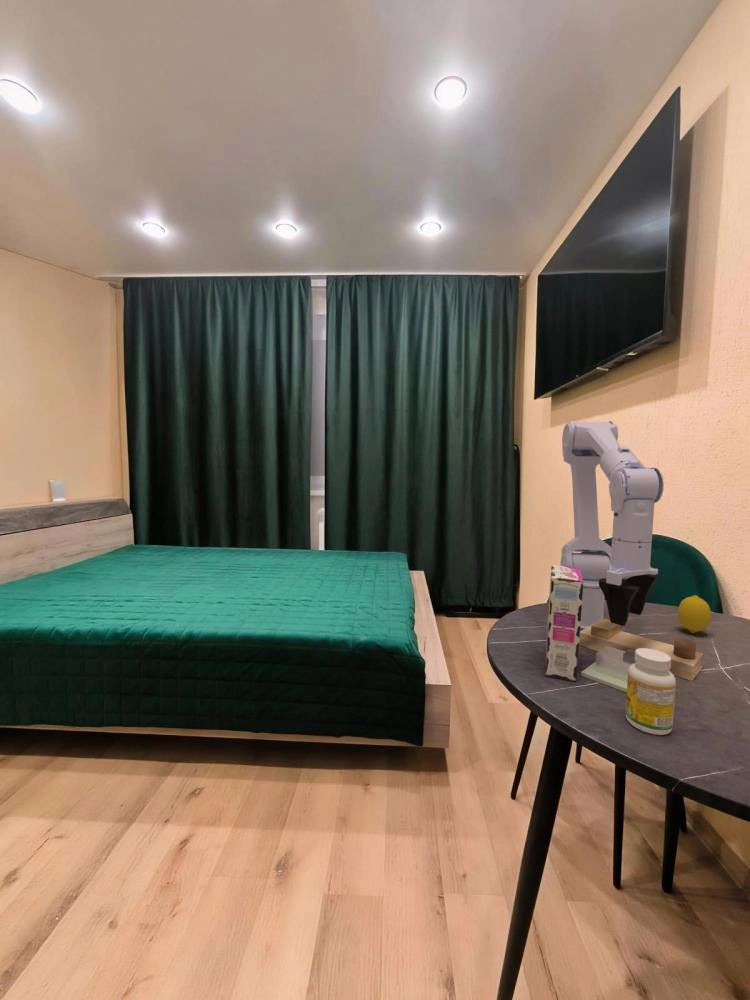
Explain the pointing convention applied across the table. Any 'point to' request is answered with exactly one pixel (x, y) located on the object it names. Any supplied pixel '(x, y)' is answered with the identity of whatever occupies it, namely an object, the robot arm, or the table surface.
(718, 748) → the table surface
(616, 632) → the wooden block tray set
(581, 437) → the robot arm
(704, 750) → the table surface
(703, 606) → the lemon
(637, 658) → the supplement bottle
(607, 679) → the felt mat
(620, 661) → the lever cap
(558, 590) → the candy bar box
